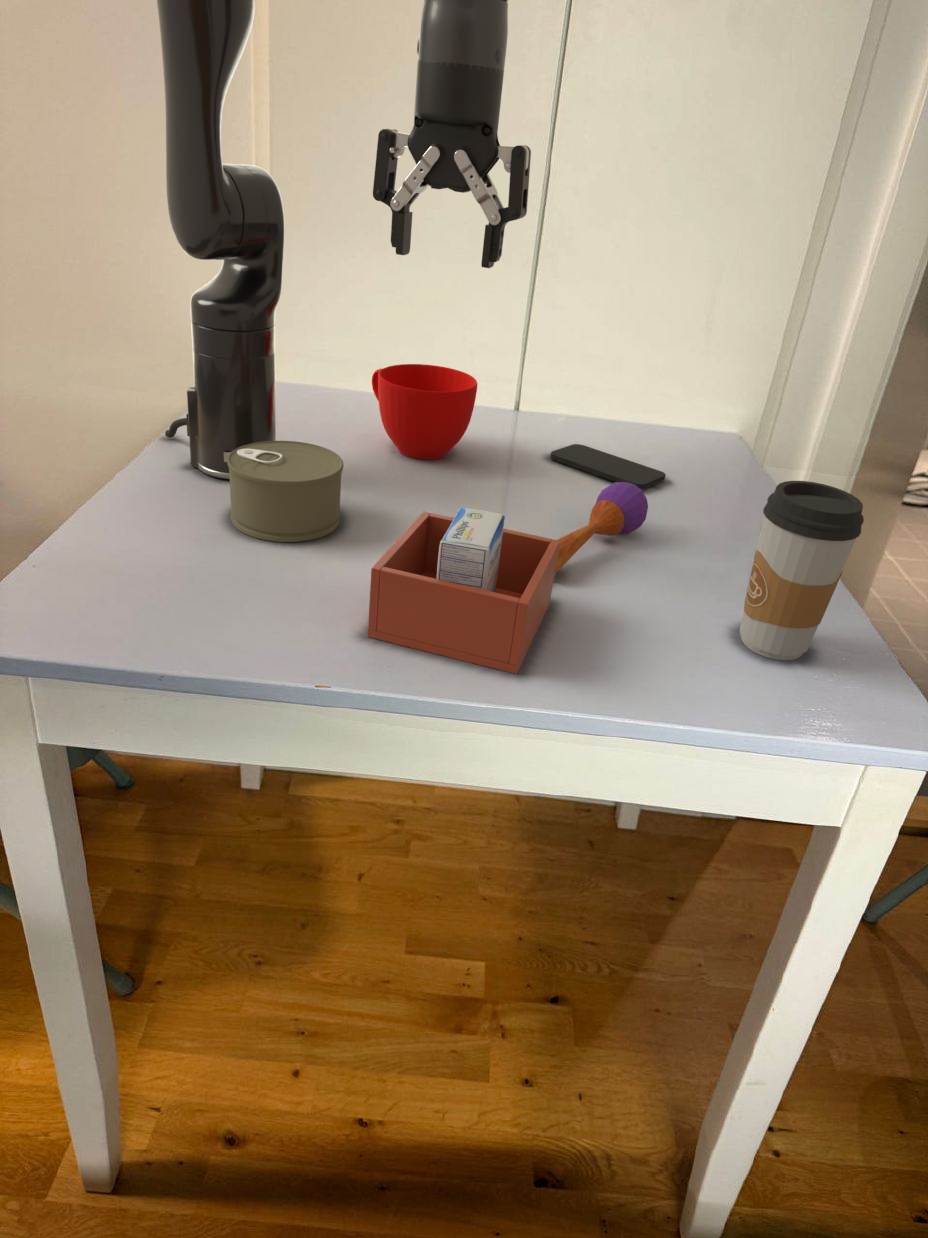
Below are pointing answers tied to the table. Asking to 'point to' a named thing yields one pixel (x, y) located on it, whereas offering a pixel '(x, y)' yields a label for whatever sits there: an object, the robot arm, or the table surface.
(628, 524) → the purple and orange maraca
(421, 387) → the ceramic cup
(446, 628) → the bin
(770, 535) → the coffee cup
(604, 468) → the phone
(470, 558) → the medicine box
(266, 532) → the can
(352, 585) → the table surface
